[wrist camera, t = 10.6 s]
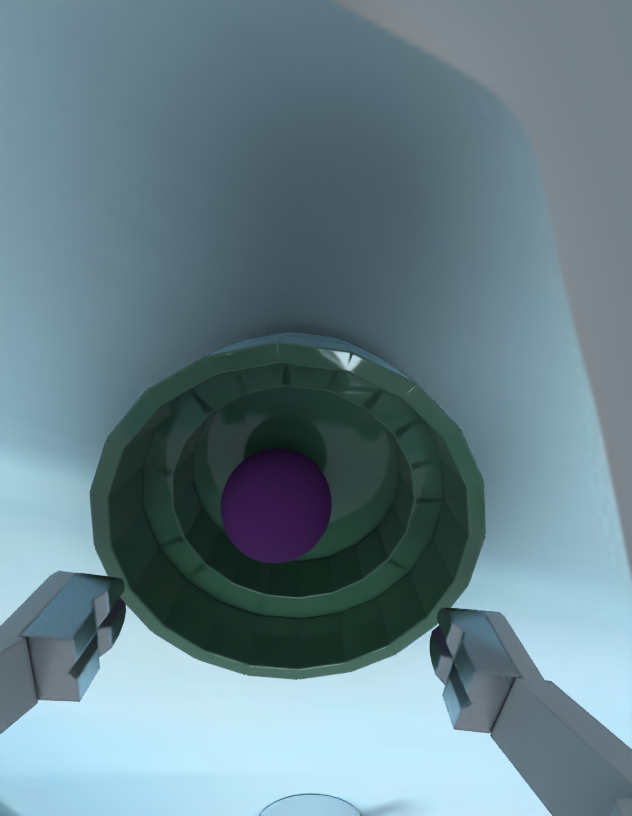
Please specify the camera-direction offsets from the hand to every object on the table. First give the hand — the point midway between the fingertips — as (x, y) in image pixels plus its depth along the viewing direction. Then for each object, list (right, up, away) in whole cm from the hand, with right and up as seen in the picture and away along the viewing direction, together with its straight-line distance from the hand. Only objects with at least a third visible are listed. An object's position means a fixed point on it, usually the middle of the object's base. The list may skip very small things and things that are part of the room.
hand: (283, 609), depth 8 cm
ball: (-1, +1, +5) cm, 5 cm away
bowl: (0, +2, +7) cm, 8 cm away
